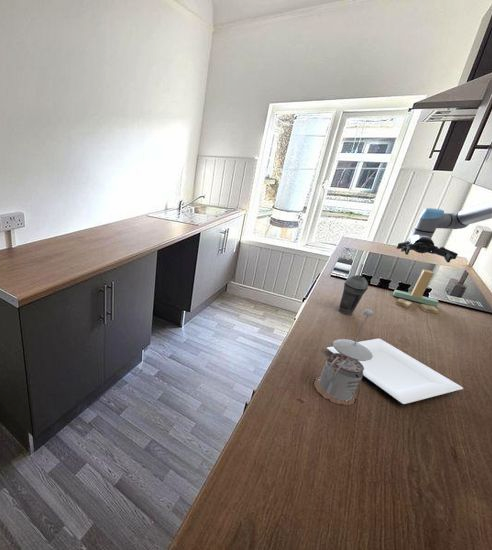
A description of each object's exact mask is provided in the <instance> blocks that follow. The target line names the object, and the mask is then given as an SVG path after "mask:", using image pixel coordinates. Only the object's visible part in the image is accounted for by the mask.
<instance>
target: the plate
mask: <svg viewBox="0 0 492 550" xmlns="http://www.w3.org/2000/svg"><path fill="white" fill-rule="evenodd" d="M357 342H358V343H359V344H361V345H363V346H364V347H366V348H367V349H368V350H369V351H370V352H371V353H372V355H373V357H372V359H371V360H367V361H359V362H360V363H361V364H362V365H363V367H364V370H363V376H362V377H364V378H365V379H367V380H368V381H370V382H371V383H372V384H374V385H375V386H376V387H378V388H379V389H381V390H382V391H383V392H385V393H386V394H387V395H388V396H389V397H392V399H394V400H395V401H397V402H398V403H400V404H402V405H406V404H410V403H414V402H418V401H422V400H425V399H429V398H433V397H437V396H440V395H445V394H449V393H452V392H455V391H460V390H464V387H463V386H461V385H459V384H458V383H456V382H455V381H453V380H451V379H449V378H448V377H446V376H444V375H442V373H439V372H437V371H436V370H434V369H432V368H431V367H429V366H428V365H425V363H422V362H420V361H419V360H417V359H415V358H414V357H412V356H410V355H409V354H407V353H405V352H403V351H402V350H400V349H398V348H397V347H395V346H394V345H392V344H391V343H388V342H386V341H385V340H383V339H382V338H373V339H368V340H361V341H357ZM326 349H327V350H328V352H330V353H331V354H334V353H339V352H338V351H337V350H336V349H335V348H334V346H328V347H326Z"/></svg>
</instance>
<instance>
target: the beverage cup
mask: <svg viewBox="0 0 492 550" xmlns="http://www.w3.org/2000/svg"><path fill="white" fill-rule="evenodd" d="M363 267H364V263H361V265H360V268H359V272H358V274H354V275H352V276H351V275H350V276H349V277H347V279H346V280H345V282H344V283H343V291H342V296H341V299H340V303H339V307H338V311H339V313H341V314H343V315H347V316H351V315H353V313H354V312H355V311H356V308H357V306H358V304H359V303H360V301H361V299H362V297H363V295H364V294H366V292H367V290H368V288H369V283H368V280H367V279H366V278H365V277H364V276H362V275H361V274H362V270H363Z"/></svg>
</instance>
